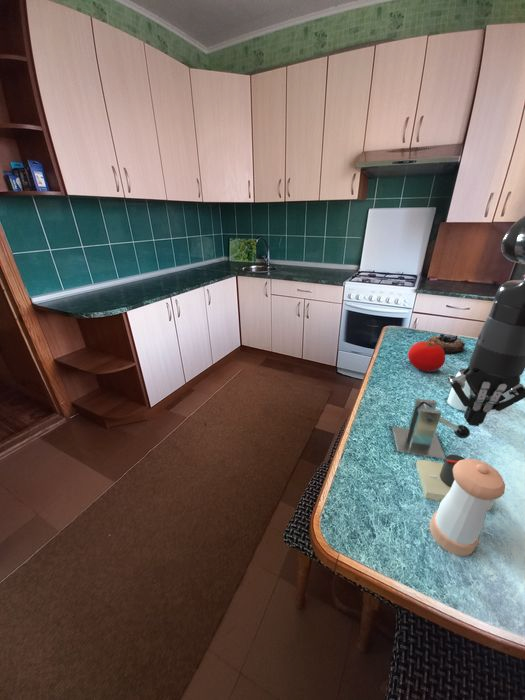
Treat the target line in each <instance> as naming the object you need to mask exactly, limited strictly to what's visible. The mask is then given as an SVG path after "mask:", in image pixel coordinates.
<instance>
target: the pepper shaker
mask: <svg viewBox="0 0 525 700" xmlns="http://www.w3.org/2000/svg"><path fill="white" fill-rule="evenodd" d="M453 475H454V479H455V480H454V482H453V484H452V487H451V489H450V491H449V492H448V493H447V495H446V496H445V497H444V499H443V500H442V501H441V502H440V503H439V506H438V509H437V510H436V511H435V512H434V513H433V515H432V517H431V520H430V523H429V532H430V535H431V536H432V538H433V539H434V541H435V542H436V543H437V544H438V545H439V546H440V547H441V548H442V549H444V550H445V551H447V552H449V553H450V554H453V555H456V556H459V557H466V556H470V555H472V554H473V552H474V551H475V549H476V547H477V545H478V544H479V539H480V537H479V536H480V534H481V533H482V531H483V529H484V525H485V520H486V515H487V512H488V511H487V510H488V508H489V506H490V504H491V502H492V503H493V501H494V500H498V499H500V498H501V497H502V496H503V495H505V492H506V490H505V489H506V483H505V481H504V478H503V476H502V475H501V473H500V472H499V471H498V470H497V469H496V468H495V467H493V466H491V464H488V463H487V462H485V461H483V460H480V459H477V458H465V459H464V460H460V461H458V462H457V463H456V464H455V465H454V467H453Z"/></svg>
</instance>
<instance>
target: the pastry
mask: <svg viewBox="0 0 525 700" xmlns="http://www.w3.org/2000/svg"><path fill="white" fill-rule="evenodd" d="M427 341H428V342H433V343H436V344H438V345H439V346H441V347H442V348H443V350H444V353H445V355H454V354H459V353H463V352H464V351H465V348H464V347H465V346H466V343H465V342H464V340H463V341H462V338H459V336H458V335H453V334H449V333H448V334H444V333H440V334H439V335H435V336H430V338H429V339H428V340H427Z"/></svg>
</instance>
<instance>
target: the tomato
mask: <svg viewBox="0 0 525 700" xmlns="http://www.w3.org/2000/svg"><path fill="white" fill-rule="evenodd" d="M407 359H408V361H409V362H410V364H411V365H412V366H413V367H414V368H415V369H417V370H419V371H422V372H435V371H437V370H439V369H441V368H442V367H443V366H444V364H445V362H446V354H445V353H444V350H443V348H442V347H441V346H439V345H438V344H436V343H433V342H429V341H428V340H427V341H426V340H425V341H424V340H423V341H418V342H416V343H414V344H413V345H412V346H411V347H410V348H409V350H408V353H407Z"/></svg>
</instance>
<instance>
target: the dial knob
mask: <svg viewBox="0 0 525 700" xmlns="http://www.w3.org/2000/svg"><path fill="white" fill-rule="evenodd" d="M445 457H446V459H444V461H443V463H444V464H443V467H442V470H441V472H440V478H441V480H442V481H443V482H444V483H445V484H446V485H447V486H449V487H452V484H453V482H454V480H455V479H454V475H453V467H454V465H455V464H456V463H457V462H458V461H460V460H464V459H466V458H465V457H463V456H461V455H458V454H448V455H447V456H445Z"/></svg>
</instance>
